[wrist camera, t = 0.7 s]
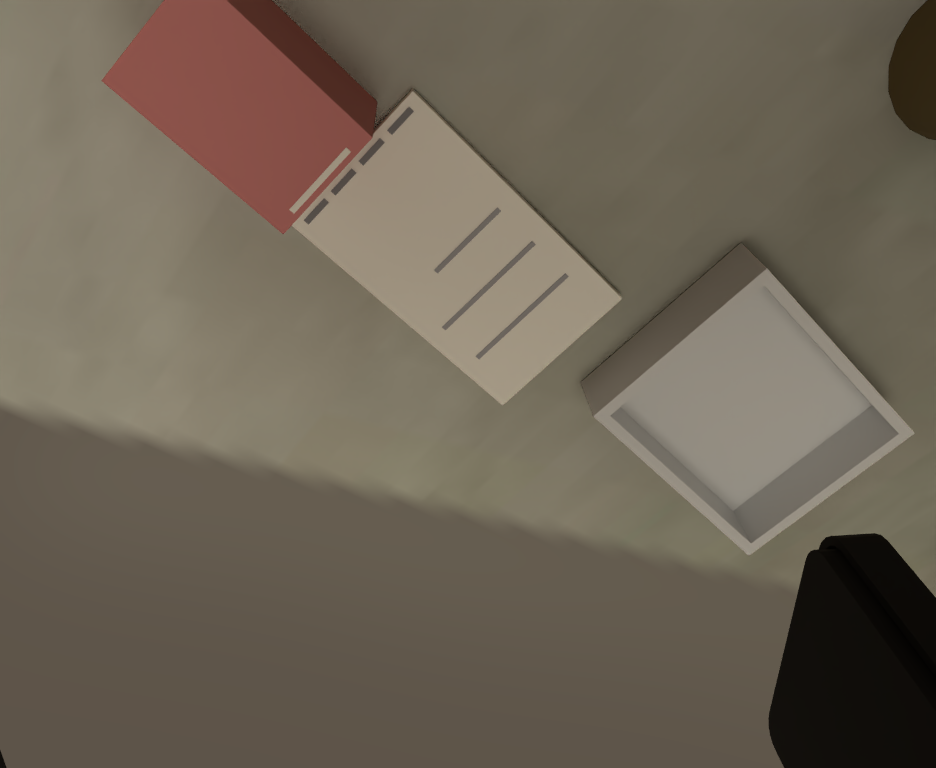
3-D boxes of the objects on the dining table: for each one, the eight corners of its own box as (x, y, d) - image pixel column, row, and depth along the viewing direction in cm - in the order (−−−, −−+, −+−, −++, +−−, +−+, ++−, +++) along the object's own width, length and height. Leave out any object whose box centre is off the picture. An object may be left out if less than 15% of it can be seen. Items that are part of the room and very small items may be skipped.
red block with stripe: (227, -44, 31) (190, -34, 25) (377, 101, 33) (372, 138, 28) (151, 52, 32) (100, 80, 27) (301, 184, 35) (283, 234, 29)
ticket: (412, 87, 33) (412, 91, 33) (619, 293, 38) (622, 299, 37) (291, 219, 35) (289, 224, 35) (501, 398, 40) (502, 406, 39)
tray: (740, 242, 37) (767, 268, 34) (881, 399, 41) (914, 433, 38) (580, 382, 40) (593, 416, 37) (728, 516, 44) (748, 555, 41)
